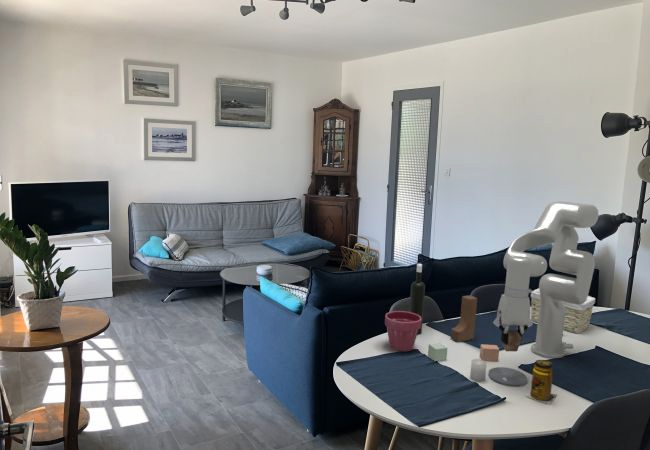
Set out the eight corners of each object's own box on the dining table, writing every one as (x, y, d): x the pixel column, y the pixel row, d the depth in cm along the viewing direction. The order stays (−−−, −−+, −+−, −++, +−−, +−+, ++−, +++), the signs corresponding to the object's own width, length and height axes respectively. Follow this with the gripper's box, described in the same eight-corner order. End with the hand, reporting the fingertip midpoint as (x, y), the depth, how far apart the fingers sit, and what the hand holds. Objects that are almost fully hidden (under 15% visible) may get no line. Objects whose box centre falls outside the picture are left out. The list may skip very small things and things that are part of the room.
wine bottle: (418, 335, 222) (423, 266, 217) (405, 332, 225) (410, 264, 220) (423, 331, 227) (428, 263, 222) (411, 328, 230) (415, 261, 225)
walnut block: (512, 343, 186) (517, 330, 183) (517, 351, 182) (521, 338, 179) (501, 343, 185) (506, 330, 182) (506, 351, 182) (510, 338, 179)
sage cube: (438, 355, 203) (439, 342, 202) (446, 360, 198) (447, 347, 197) (427, 356, 201) (428, 344, 200) (435, 362, 196) (436, 349, 196)
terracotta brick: (495, 357, 203) (496, 345, 202) (498, 361, 199) (499, 349, 198) (479, 356, 203) (480, 344, 202) (481, 360, 199) (483, 348, 198)
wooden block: (457, 342, 216) (461, 300, 213) (450, 338, 220) (453, 297, 217) (474, 339, 220) (477, 297, 217) (466, 335, 224) (470, 294, 221)
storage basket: (593, 327, 240) (597, 296, 238) (580, 336, 229) (584, 303, 227) (541, 314, 257) (544, 285, 255) (526, 321, 246) (529, 291, 243)
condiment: (525, 397, 172) (529, 362, 170) (534, 388, 178) (538, 354, 176) (548, 404, 167) (552, 369, 165) (557, 395, 174) (561, 361, 172)
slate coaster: (516, 369, 192) (516, 367, 192) (534, 386, 180) (534, 383, 179) (482, 370, 191) (482, 367, 191) (497, 386, 178) (498, 384, 178)
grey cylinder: (481, 375, 187) (483, 359, 186) (487, 381, 182) (488, 365, 181) (467, 375, 186) (469, 359, 185) (473, 381, 181) (474, 365, 180)
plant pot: (398, 337, 219) (400, 308, 217) (426, 348, 209) (428, 317, 207) (376, 346, 209) (377, 315, 207) (404, 357, 199) (406, 325, 197)
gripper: (534, 289, 185) (528, 339, 188) (488, 288, 183) (483, 339, 186) (545, 295, 177) (539, 347, 180) (497, 295, 175) (492, 347, 178)
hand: (510, 342), depth 183 cm, fingers closed on walnut block, 4 cm apart
